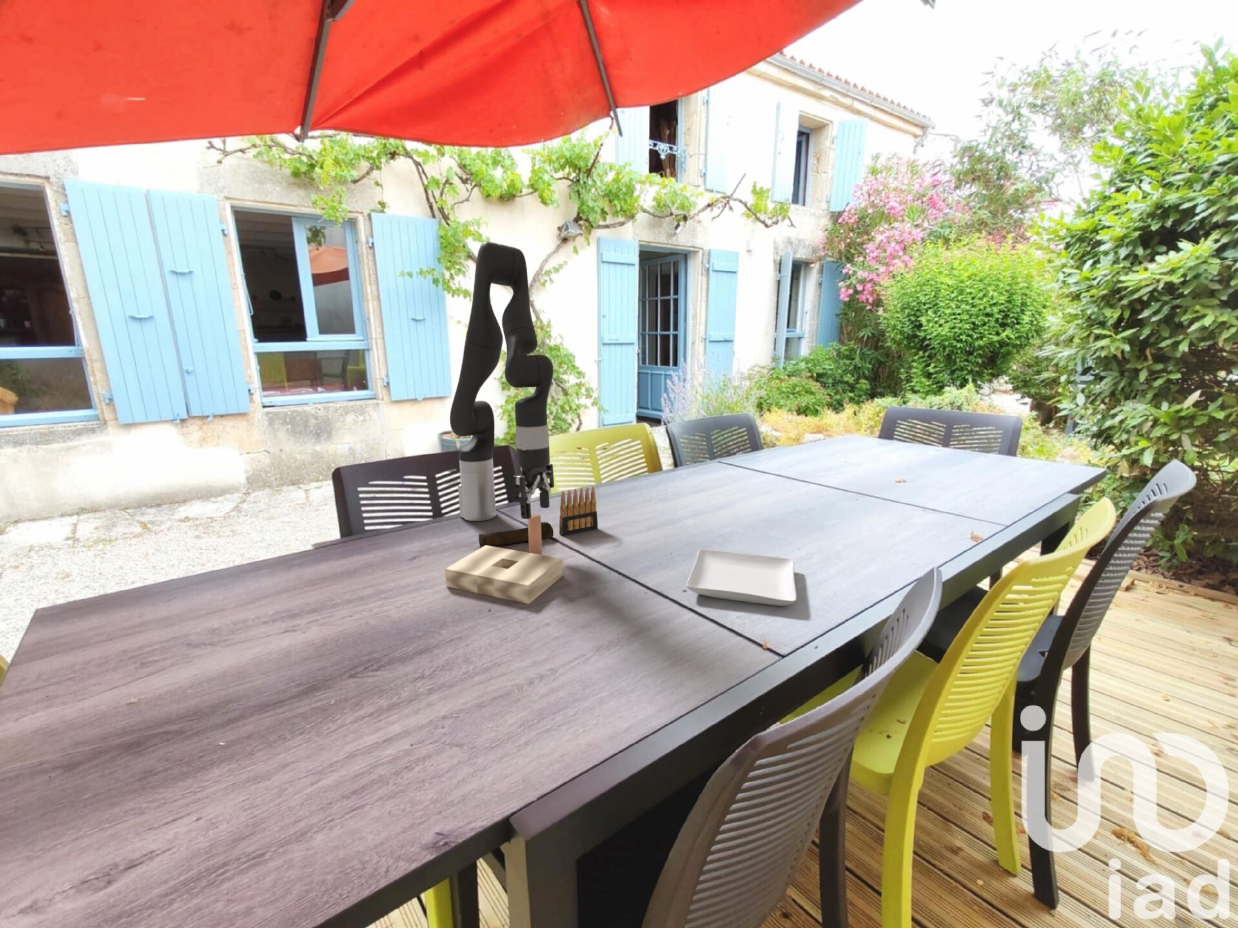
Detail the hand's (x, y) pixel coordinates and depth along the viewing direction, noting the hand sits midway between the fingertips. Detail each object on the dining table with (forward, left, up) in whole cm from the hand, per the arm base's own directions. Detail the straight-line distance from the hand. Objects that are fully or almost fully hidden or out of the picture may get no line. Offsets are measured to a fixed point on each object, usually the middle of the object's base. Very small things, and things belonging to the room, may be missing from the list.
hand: (535, 512), depth 127 cm
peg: (0, 0, -11) cm, 11 cm away
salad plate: (+48, +4, -11) cm, 49 cm away
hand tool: (-10, +6, -11) cm, 16 cm away
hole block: (+1, -14, -11) cm, 18 cm away
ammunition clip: (+2, +19, -11) cm, 22 cm away
